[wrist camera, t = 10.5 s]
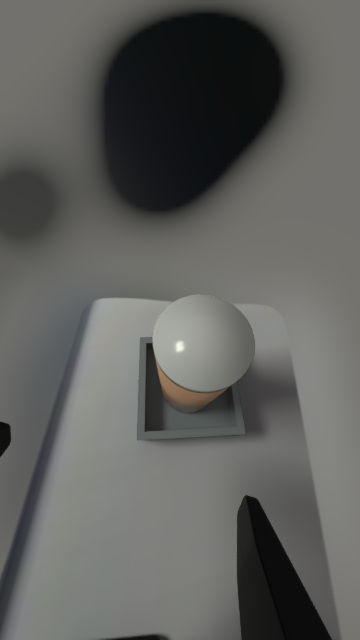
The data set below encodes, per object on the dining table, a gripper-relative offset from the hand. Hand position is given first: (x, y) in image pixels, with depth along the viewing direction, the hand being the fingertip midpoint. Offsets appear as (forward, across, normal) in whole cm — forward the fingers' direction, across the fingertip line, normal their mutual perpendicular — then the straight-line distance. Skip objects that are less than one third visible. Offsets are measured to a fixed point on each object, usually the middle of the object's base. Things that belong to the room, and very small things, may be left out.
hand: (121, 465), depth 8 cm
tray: (+14, -2, +5) cm, 15 cm away
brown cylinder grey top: (+13, -2, +5) cm, 14 cm away
